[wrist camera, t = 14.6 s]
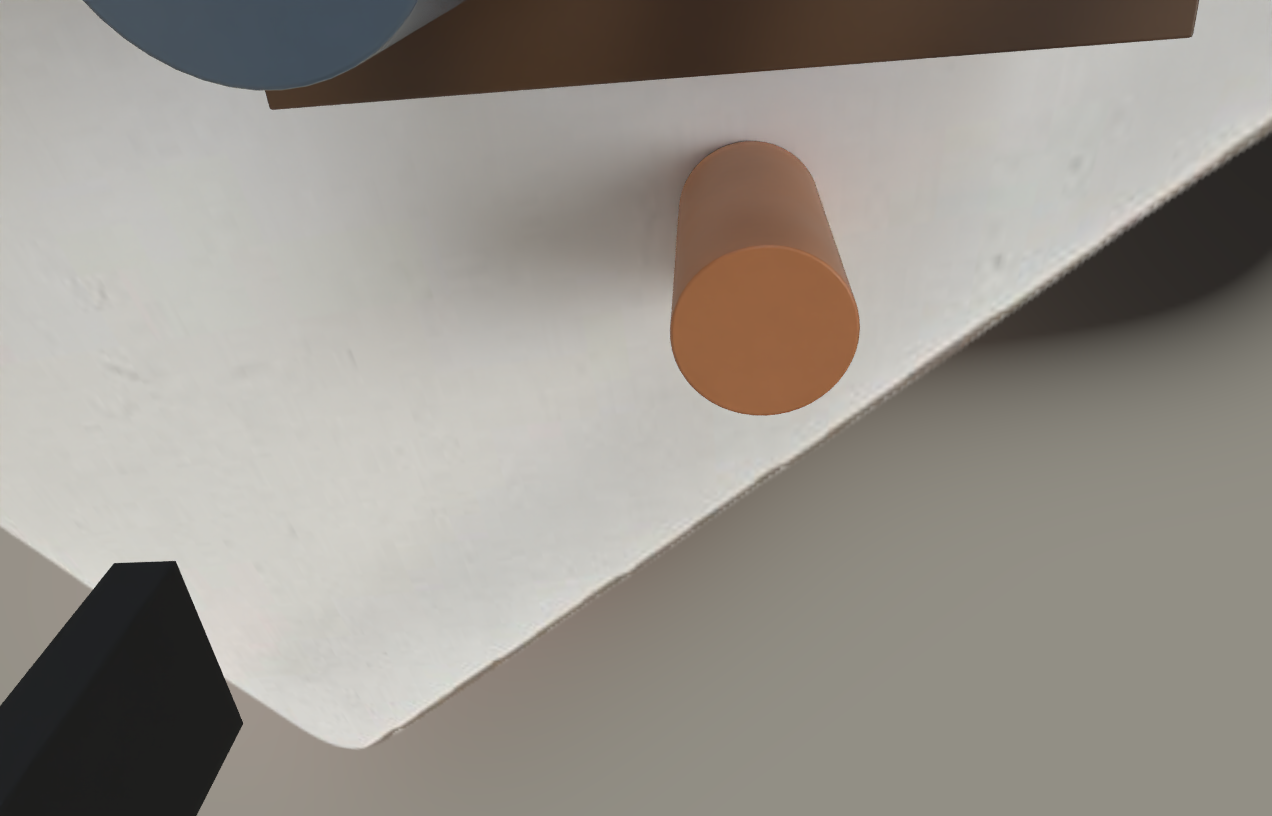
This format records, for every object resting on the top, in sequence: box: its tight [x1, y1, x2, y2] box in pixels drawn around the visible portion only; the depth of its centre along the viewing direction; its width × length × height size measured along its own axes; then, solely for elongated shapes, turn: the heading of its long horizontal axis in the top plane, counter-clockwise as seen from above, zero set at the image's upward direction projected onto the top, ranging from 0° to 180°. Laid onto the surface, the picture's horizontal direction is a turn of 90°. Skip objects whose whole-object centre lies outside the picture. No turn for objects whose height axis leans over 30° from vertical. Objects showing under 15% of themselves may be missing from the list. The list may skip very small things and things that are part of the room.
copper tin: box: [670, 141, 860, 415], centre depth 29 cm, size 5×5×10 cm
